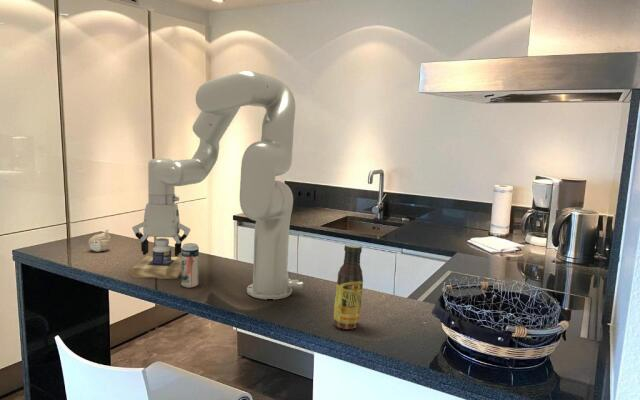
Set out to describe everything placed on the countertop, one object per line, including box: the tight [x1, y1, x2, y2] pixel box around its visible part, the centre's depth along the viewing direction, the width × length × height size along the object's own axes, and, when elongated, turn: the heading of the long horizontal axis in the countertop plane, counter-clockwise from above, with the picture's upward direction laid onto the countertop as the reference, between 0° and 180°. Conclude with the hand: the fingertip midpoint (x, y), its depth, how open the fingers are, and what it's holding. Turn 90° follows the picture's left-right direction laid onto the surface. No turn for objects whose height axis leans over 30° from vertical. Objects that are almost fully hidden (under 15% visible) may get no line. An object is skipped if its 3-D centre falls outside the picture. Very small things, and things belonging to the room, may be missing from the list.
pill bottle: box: [152, 237, 172, 266], centre depth 145 cm, size 5×5×10 cm
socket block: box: [131, 255, 182, 280], centre depth 146 cm, size 13×13×3 cm
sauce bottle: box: [333, 243, 364, 330], centre depth 112 cm, size 7×6×20 cm
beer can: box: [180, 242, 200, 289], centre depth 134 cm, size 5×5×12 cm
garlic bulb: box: [87, 228, 111, 253], centre depth 165 cm, size 7×6×8 cm
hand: (161, 254), depth 145 cm, fingers open, 9 cm apart
